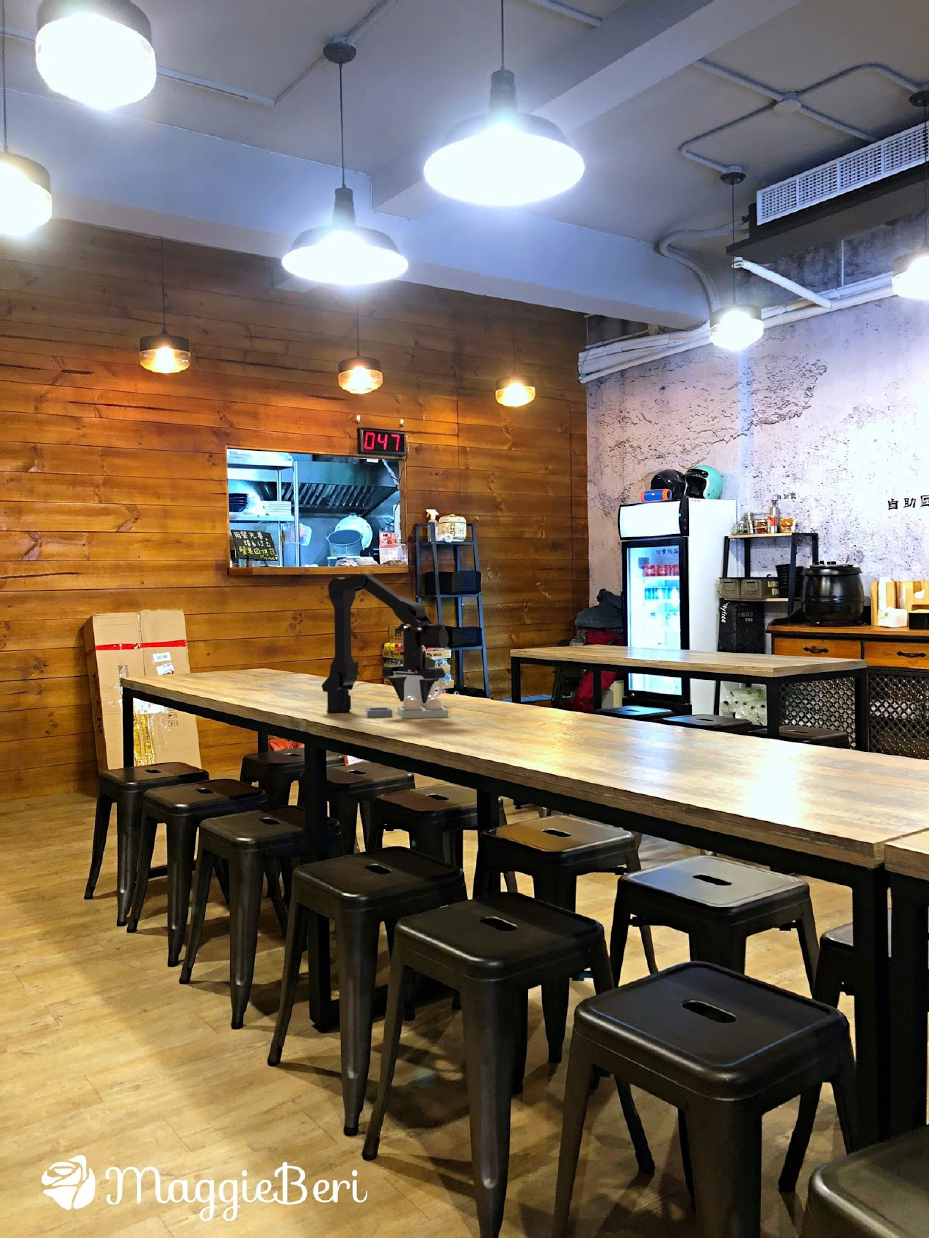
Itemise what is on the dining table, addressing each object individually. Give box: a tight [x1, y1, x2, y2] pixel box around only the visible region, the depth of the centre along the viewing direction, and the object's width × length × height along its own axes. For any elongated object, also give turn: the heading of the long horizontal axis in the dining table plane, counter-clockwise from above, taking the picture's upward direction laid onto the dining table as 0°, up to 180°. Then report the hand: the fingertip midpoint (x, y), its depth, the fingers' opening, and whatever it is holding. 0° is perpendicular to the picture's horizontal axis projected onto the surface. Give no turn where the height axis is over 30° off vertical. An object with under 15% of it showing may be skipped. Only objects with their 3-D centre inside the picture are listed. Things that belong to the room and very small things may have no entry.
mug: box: [400, 663, 444, 706], centre depth 295 cm, size 15×11×13 cm
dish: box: [365, 706, 393, 718], centre depth 273 cm, size 7×7×2 cm
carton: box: [396, 695, 449, 719], centre depth 275 cm, size 13×13×5 cm
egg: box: [406, 698, 420, 711], centre depth 271 cm, size 4×4×4 cm
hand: (413, 702), depth 271 cm, fingers open, 8 cm apart
